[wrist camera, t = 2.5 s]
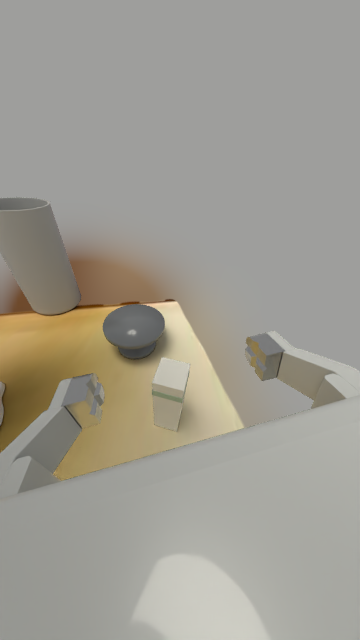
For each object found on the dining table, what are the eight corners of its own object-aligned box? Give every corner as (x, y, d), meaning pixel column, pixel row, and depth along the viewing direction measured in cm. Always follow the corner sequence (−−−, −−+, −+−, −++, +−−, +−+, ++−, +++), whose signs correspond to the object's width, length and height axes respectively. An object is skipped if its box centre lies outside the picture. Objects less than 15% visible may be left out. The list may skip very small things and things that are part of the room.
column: (153, 425, 32) (151, 382, 23) (161, 402, 35) (161, 356, 26) (176, 432, 31) (184, 391, 22) (182, 408, 34) (190, 363, 25)
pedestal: (97, 358, 41) (89, 337, 36) (124, 321, 51) (120, 300, 46) (153, 373, 39) (152, 352, 35) (170, 331, 49) (171, 310, 44)
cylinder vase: (78, 313, 51) (40, 211, 35) (26, 318, 49) (-43, 209, 32) (84, 289, 60) (55, 198, 44) (40, 292, 58) (-8, 196, 41)
